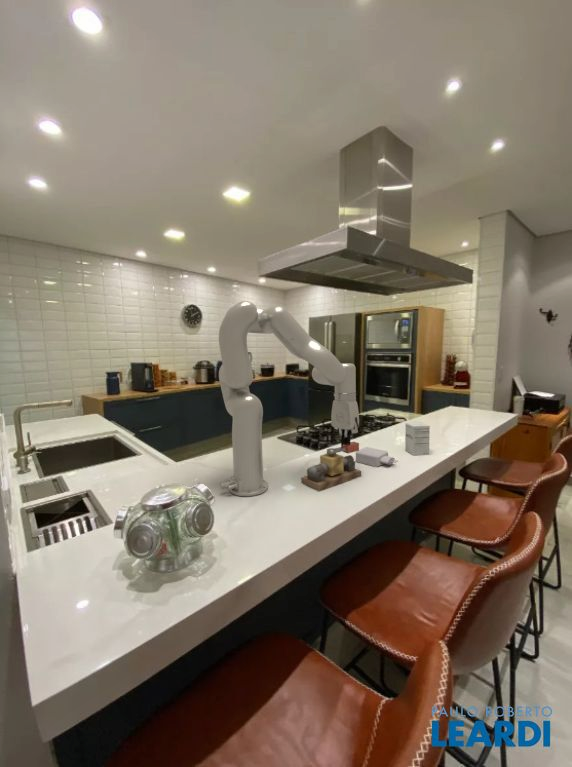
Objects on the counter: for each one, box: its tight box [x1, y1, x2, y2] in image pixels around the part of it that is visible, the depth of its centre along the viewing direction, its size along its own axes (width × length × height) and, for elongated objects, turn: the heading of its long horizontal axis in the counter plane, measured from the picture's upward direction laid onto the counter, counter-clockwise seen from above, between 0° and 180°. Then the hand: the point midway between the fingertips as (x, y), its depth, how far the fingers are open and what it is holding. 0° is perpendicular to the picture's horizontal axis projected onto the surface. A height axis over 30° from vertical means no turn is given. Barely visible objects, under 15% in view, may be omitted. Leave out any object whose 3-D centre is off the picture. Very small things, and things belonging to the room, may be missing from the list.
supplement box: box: [404, 421, 431, 457], centre depth 140 cm, size 7×7×13 cm
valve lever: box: [326, 441, 360, 454], centre depth 115 cm, size 14×3×3 cm, turn 124°
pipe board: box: [300, 453, 362, 492], centre depth 112 cm, size 20×9×9 cm, turn 127°
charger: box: [355, 446, 399, 468], centre depth 128 cm, size 5×9×15 cm
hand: (345, 446), depth 120 cm, fingers closed
